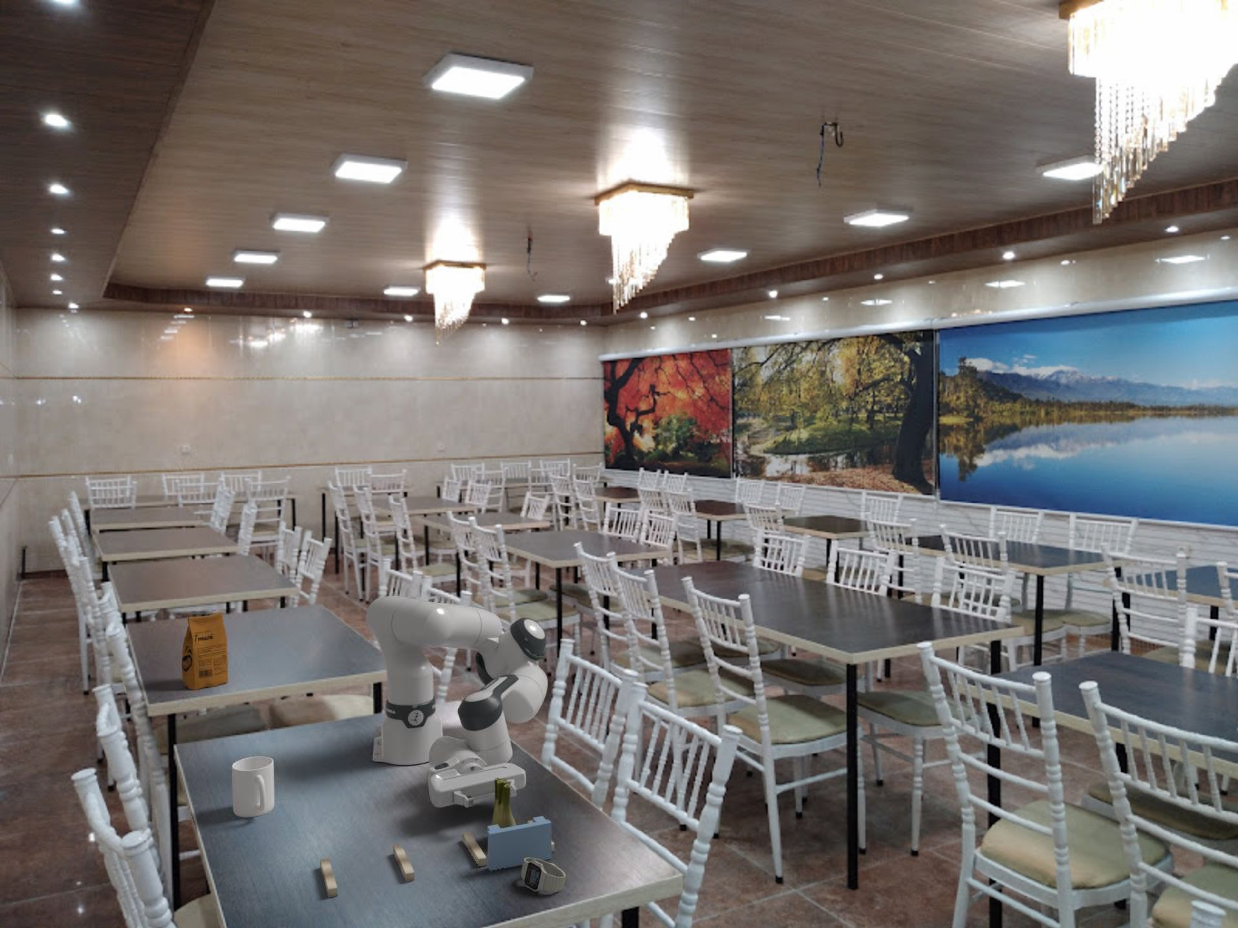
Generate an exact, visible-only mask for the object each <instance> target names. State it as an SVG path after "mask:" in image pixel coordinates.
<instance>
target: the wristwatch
mask: <svg viewBox="0 0 1238 928" xmlns="http://www.w3.org/2000/svg"><path fill="white" fill-rule="evenodd" d="M521 866H522V867H521V871H520V876H521V879H522V880H523V883H524V884H525V887H526V888H527V889H530V890H531V891H533V892H538V891H545V892H549V893H558V892H561V891H562V890H564V889H563V888H564V885H565V880H566V873H565V871H564V870H562V869H561V868H559V867H558V865H556V864H554V863H553V862H548V861H547V860H540V859H536V858H524V862H523V865H521Z"/></svg>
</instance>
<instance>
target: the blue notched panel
mask: <svg viewBox="0 0 1238 928" xmlns="http://www.w3.org/2000/svg"><path fill="white" fill-rule="evenodd" d="M532 820H533V823H528V824H527V823H524V824H518V825H517V824H516V826H512V827H507V828H500V827H499V826H498V824H497V825H492V824H491V825H487V826H486V827H487V828H486V830H487V868H488V870H489V871H490V872H493V871H492V870H495V871H498V870H497V869H499V870H502V869H501V868H504V869H508V867H509V868H513V867H518V866H523V862H524V858H536V859H540V860H543V861H547V860H551V859H553V856H552V855H553V854H552V853H553V852H552V842H553V841H552V822H551V821H550V819H546V818H545V817H544V816H543V815H540V816H536V817H532Z"/></svg>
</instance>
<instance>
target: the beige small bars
mask: <svg viewBox="0 0 1238 928" xmlns="http://www.w3.org/2000/svg"><path fill="white" fill-rule="evenodd" d="M526 822H527V823H526V824H528V823H533V819H532V820H527V821H526ZM461 836H462V837H461V839H462V840H463V841H462V842H463V844H464V843H465V844H464V846H465V845H466V846H467V847H466V846H465V847H466V849H467V848H468V849H467V850H468V852H469V854H470V853H471V854H470V855H471V857H472V856H473V857H474V858H473V857H472V858H473V860H474V859H475V860H474V862H475V861H476V862H475V864H476V865H477V864H478V865H477V866H478V867H479V866H482V867H486V866H485V865H487V866H488V857H487V856H486V855H485V853H484V852H483V850H482V848H481V847H480V846H479V844H478V843H477V841H476V839H475V837H474V836H473V835H472V833H471V831H468V832H462V833H461ZM392 848H393V851H392V853H393V855H395V856H394V858H395V857H396V858H395V860H396V859H397V860H396V862H398V863H397V865H398V866H399V869H400V872H401V873H402V876H403V878H404V880H405V882H406V883H407V882H413V881H415V871H414V868H413V866H412V864H411V862H410V859H409V858H408V855H407V854H406V852H405V850H404V848H403V845H402V844H397V845H394V846H392ZM554 852H555V842H554V841H552V853H554ZM319 864H320V868H319V869H320V871H321V875H322V878H323V883H324V887H325V889H326V894H327V897H328V898H333V897H338V885H337V882H336V879H335V875H334V872H333V868H332V865H331V862H330V859H329V858H323V859H320V860H319Z"/></svg>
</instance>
